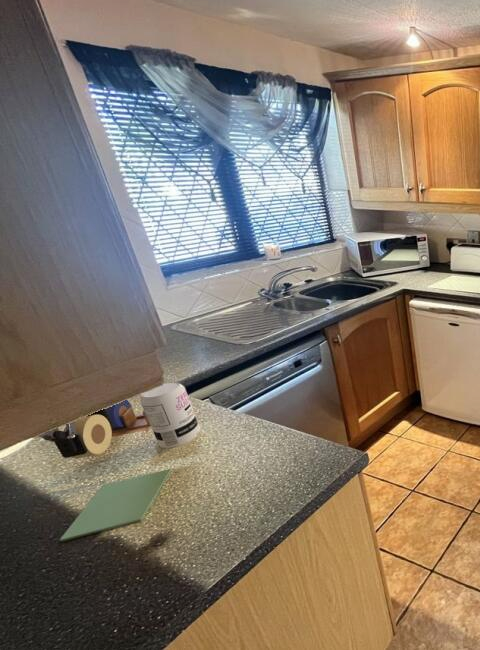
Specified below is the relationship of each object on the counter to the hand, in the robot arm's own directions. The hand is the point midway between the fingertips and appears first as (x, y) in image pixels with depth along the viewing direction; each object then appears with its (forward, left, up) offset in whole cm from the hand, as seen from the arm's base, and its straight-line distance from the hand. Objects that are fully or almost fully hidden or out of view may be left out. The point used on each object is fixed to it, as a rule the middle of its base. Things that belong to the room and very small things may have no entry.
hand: (89, 440), depth 73 cm
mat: (0, 0, -16) cm, 16 cm away
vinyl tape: (-12, +30, -15) cm, 36 cm away
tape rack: (-10, +30, -16) cm, 35 cm away
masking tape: (0, 0, -3) cm, 3 cm away
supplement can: (+4, +19, -16) cm, 25 cm away
